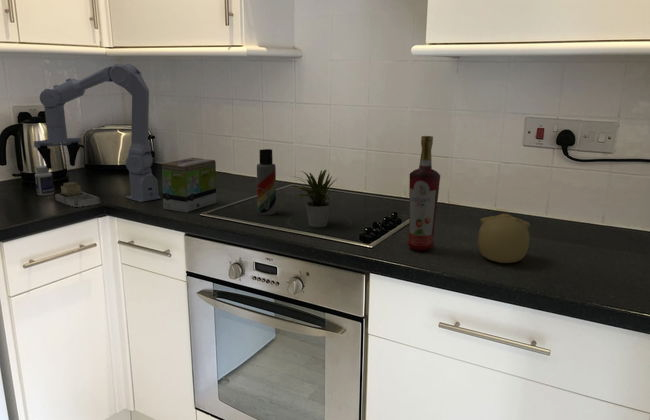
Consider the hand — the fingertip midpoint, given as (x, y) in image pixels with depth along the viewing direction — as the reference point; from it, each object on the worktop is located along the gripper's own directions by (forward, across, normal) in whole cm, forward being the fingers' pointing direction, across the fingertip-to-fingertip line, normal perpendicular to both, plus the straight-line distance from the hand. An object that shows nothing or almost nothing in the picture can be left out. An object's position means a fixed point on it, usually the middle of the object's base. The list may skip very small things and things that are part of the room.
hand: (61, 167), depth 178 cm
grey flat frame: (+10, 0, +10) cm, 14 cm away
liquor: (+11, -36, +118) cm, 124 cm away
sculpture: (+11, -44, +136) cm, 143 cm away
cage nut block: (+10, 0, +6) cm, 12 cm away
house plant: (+11, -36, +84) cm, 92 cm away
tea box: (+11, -22, +41) cm, 48 cm away
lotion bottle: (+11, -34, +65) cm, 74 cm away
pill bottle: (+11, +2, -9) cm, 14 cm away
